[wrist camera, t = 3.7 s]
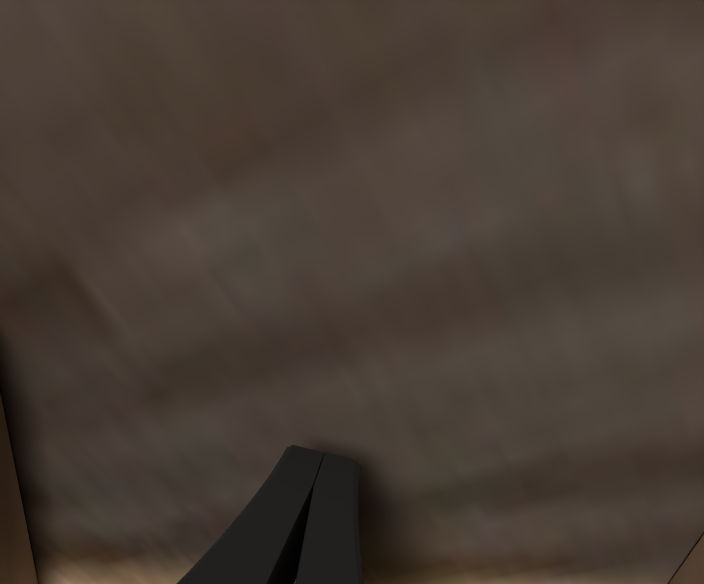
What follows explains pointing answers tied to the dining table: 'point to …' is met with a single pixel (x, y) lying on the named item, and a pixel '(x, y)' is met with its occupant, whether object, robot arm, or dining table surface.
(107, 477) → the dining table surface
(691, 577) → the tray
